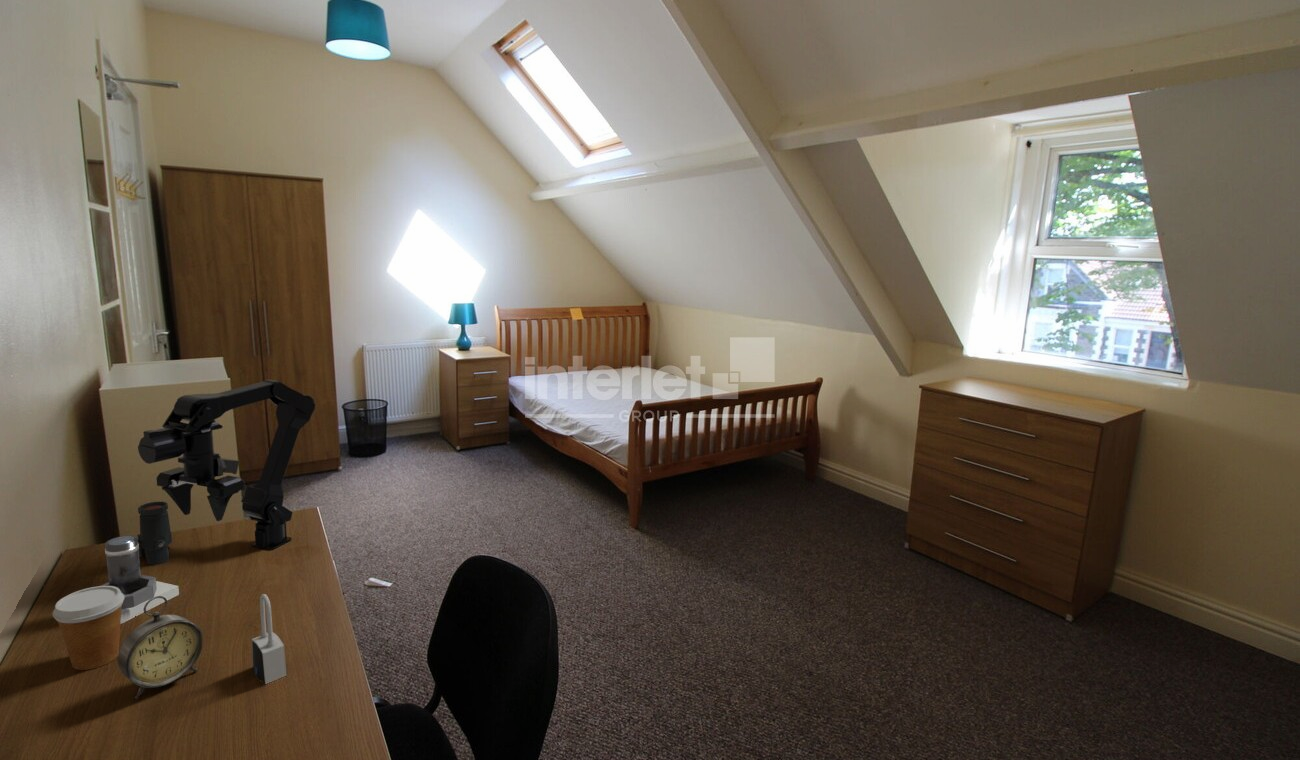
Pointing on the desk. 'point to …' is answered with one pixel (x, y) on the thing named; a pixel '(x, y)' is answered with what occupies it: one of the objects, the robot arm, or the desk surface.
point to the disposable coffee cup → (91, 625)
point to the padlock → (268, 649)
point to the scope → (154, 532)
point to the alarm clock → (160, 650)
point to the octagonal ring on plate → (146, 597)
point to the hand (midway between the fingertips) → (203, 517)
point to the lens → (123, 563)
